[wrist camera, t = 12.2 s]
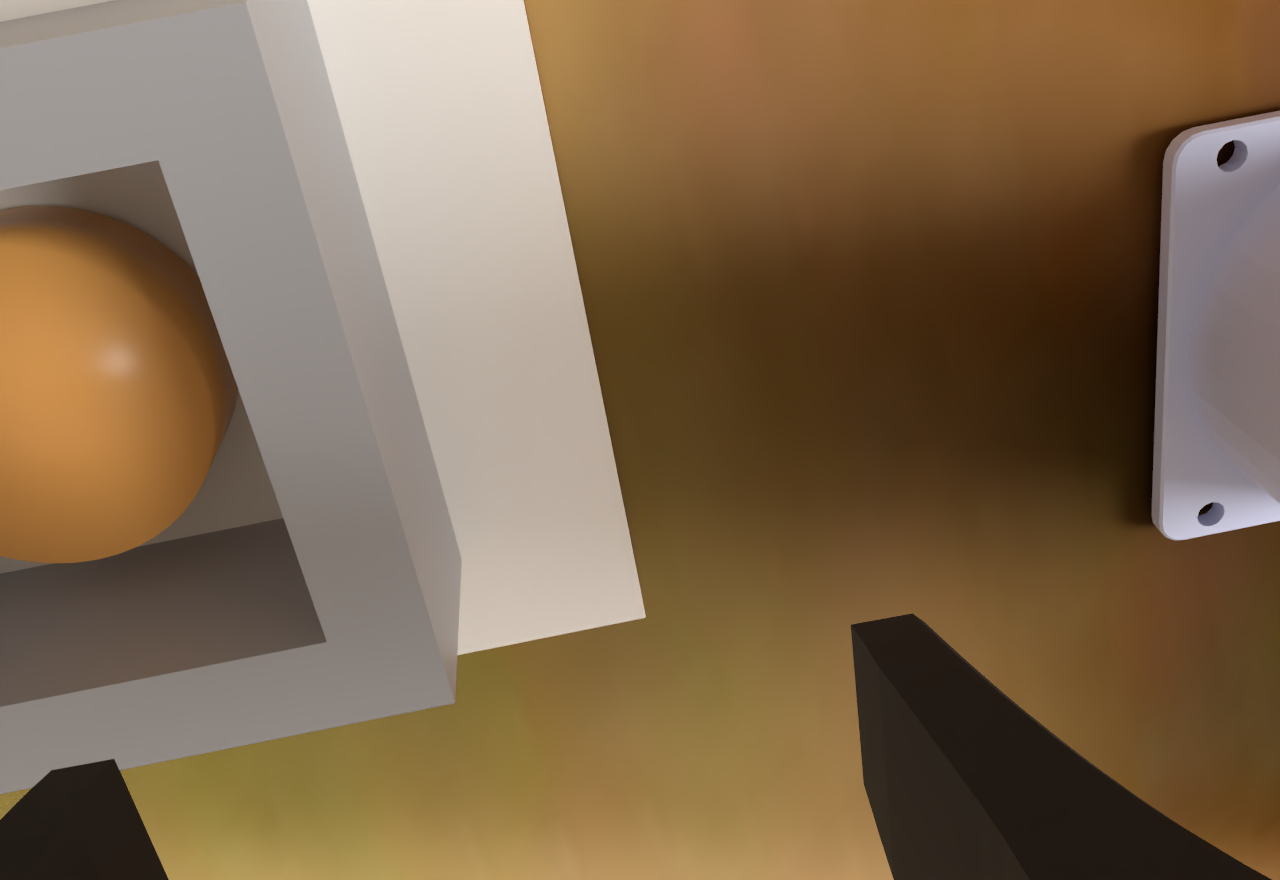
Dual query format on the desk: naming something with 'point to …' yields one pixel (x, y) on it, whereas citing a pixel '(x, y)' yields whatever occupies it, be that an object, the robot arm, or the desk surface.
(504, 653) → the desk surface
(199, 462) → the button
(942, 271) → the desk surface
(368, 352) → the socket base plate
